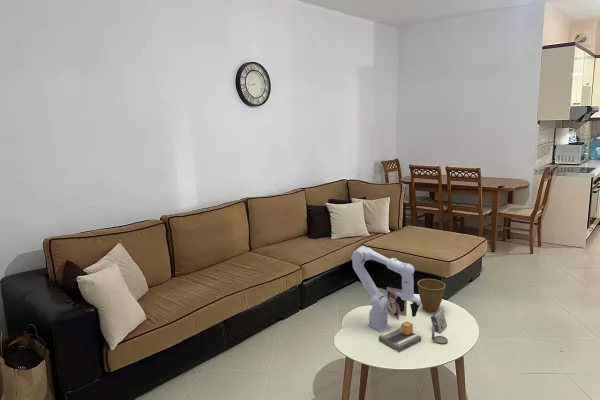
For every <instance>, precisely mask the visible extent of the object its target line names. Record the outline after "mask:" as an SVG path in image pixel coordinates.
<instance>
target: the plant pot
mask: <svg viewBox="0 0 600 400" xmlns="http://www.w3.org/2000/svg"><path fill="white" fill-rule="evenodd" d="M417 289H418V295H419V300H421V304H420V305H421V306H422V309H423V311H424V312H426V313H428V314H434V313H435V312H436V311H439V308H440V307H441V306H440V305H441V304H442V300H443V298H444V294H445V291H446V284H445V283H444V282H442V281H441V280H439V279H434V278H433V279H432V278H423V279H420V280H418V281H417Z"/></svg>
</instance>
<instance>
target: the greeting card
mask: <svg viewBox="0 0 600 400" xmlns="http://www.w3.org/2000/svg"><path fill="white" fill-rule="evenodd" d="M397 292H400V293H402V289H399V288H395V287H389V286H387V287H386V297H387V298H388V300H389V305H388V306H387V310H388V314H389V315H390V316H392V317H393V318H395V319H396V320H398V321H399V320H400V316H403V317H407V305H408V303H407V300H405V304H404V311H403V312H400V308H399V305H398V303H397V301H396V298H397V297H396V293H397Z"/></svg>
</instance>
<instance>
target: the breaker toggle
mask: <svg viewBox="0 0 600 400" xmlns="http://www.w3.org/2000/svg"><path fill="white" fill-rule="evenodd" d="M401 326H402V330H401V333H403V334H405V335H409V334H411V333H412V332H413V333H414V330H413V328H414V327H413V323H412V322H409V321H405V322H402V323H401Z"/></svg>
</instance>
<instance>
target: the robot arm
mask: <svg viewBox="0 0 600 400" xmlns="http://www.w3.org/2000/svg"><path fill="white" fill-rule="evenodd" d="M350 259H351V261H352V263H351V264H352V269H353V270H354V272H355V274H356V275H357V277H358V278H359V280H360V282H361V284H362V285H363V287H364V289H365V290H366V292H367V293H368V295H369V297H370V303H371V306H372V308H371V309H370V310H369V312H368V313H369V314H368V317H369V318H368V323H367V325H368V326H369V327H371V328H373V329H375V330H377V331H379V332H383V331H387V330H388V329H390V328H392V326H391V325H390V324H389V323H388V317H389V316H388V314H389V313H388V310H387V306H388V305H389V300H388V298H387V296H385V295H384V293H383V292H381V291H380V290H379V289H378V287H377V286H376V284H375V282H374V280H373V278H372V277H371V276H370V273H369V272H368V271H367V269H366V267H365V262H367V261H370V260H373V261H376V262H378V263H381V264H383V265H385V266H386V268H387V269H389V270H391V271H393V272H394V273H397V274H399V275H400V276H401V290H402V293H400V292H397V293H396V297H397V298H396V301H397V303H398V305H399V308H400V312H403V311H404V304H405V300H407V301H408V302H411V303H410V304H409V306H410V309H411V310H410V311H411V316H412V318H414V317H416V316H417V314H418V310H419V308H420V306H421V305H422V304H421V300H420V298H417V297H416V296H415V295H414V293H415V291H414V290H415V288H414V285H415V283H414V282H415V281H414V273H415V271H416V269H415V267H414V265H413V264H411V263H409V262H408V263H406V262H402V261H400V260H398V258H396V257H391V258H389V257H387V256H385V255H382V254H380V253H379V252H377V251H375V250H373V249H372V248H370V247H368V246H366V245H360V246H359V247H358V248H356V250H354V251H352V254H351V257H350Z"/></svg>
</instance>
